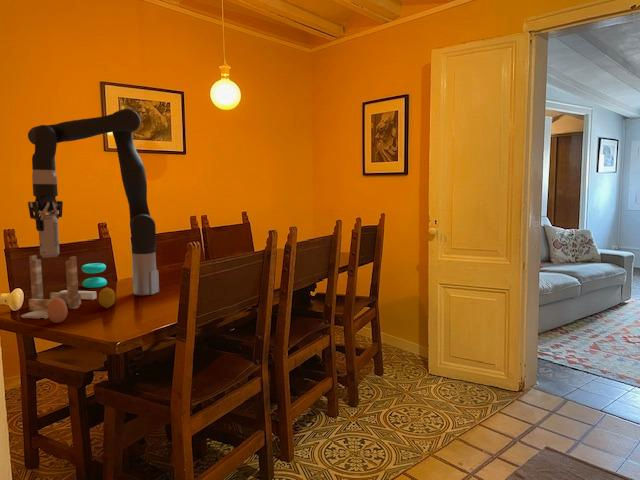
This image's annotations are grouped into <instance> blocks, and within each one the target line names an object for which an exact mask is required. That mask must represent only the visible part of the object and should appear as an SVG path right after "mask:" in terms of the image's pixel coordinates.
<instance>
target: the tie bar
mask: <svg viewBox="0 0 640 480" xmlns="http://www.w3.org/2000/svg"><path fill="white" fill-rule="evenodd" d="M59 293H67V289H64V290H60V291H59ZM78 293H80V294H81V300H95V299H98V297H97V296H98V295H97V291H95V290H94V291H92V290H91V291H89V290H78Z"/></svg>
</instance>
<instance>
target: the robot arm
mask: <svg viewBox="0 0 640 480" xmlns="http://www.w3.org/2000/svg"><path fill="white" fill-rule="evenodd" d="M141 123H142V121H141V116H140V115H139V113H138V112H137V111H135V110H134V109H131V108H122V109H119V110H117V111H115V112H113V113H110V114H108V115H107V114H106V115H102V116H97V117H89V118H81V119H75V120H74V119H73V120H69V121H68V120H67V121H63V122H59V123H54V124H48V125H47V124H46V125H45V124H41V125H36V126H34V127H31V128H30V130H29V131H28V133H27V139H28V141H29V142H30V143H31V144H33V145H34V153H33V154H32V157H31V164H32V165H31V166H32V173H31V175H32V176H31V180H32V183H31V184H32V196H33V197H35V200H34V201H28V202H27V206H28V211H29V218H30V219H32V220H34V221H35V228H36V231H37V232H39V231H44V223H43V218H44V215H55V216H56V218H57V219H58V220H59V218H62V217H63V205H64V204H63V203H64V202H63V201H62V200H57V199H56V197H58V195H59V194H58V193H59V192H58V176H57V172H56V171H57V170H56V154H57V147H58V146H57V145H58V144H59V143H63V142H64V143H66V142H73V141H78V140H84V139H87V138H91V137H92V138H93V137H96V136H100V135H103V134H104V135H105V134H109V133H112V135H113V139H114V141H115V142H114V143H115V147H116V151H117V157H118V163H119V169H120V170H119V171H120V174H121V175H120V177H121V181H122V184H123V189H124V193H125V195H126V196H125V197H126V199H127V204H128V209H129V225H130V229H131V259H132V260H131V263H132V286H133V295H134V296H152V295H154V294H157V293H159V292H160V279H159V269H157V259H156V258H157V256H156V255H157V253H156V252H157V251H156V249H157V235H156V234H157V232H156V227H157V226H156V222H155V220H154V219H153V218H152V216H151V213H150V210H149V205H148V184H147V174H146V170H145V165H144V163H143V161H142V158H141V157H140V154H139V153H138V150H137V149H136V146H135V142H134V137H133V133H134V132H136V131H137V130H138V129H139V128H140V126H141Z"/></svg>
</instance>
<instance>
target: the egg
mask: <svg viewBox="0 0 640 480" xmlns="http://www.w3.org/2000/svg"><path fill="white" fill-rule="evenodd" d="M68 309H69V308H68V304H66V303H65V302H64V301H63V300H62V299H61V298H54V299H52V300H51V301H50V303H49V305H48V308H47V315H48V317H49V318H48V319H49V321H51V322H52V323H55V324H60V323H62V322H63V321H64V320H65V319H66V318H67V316H68V313H69V312H68Z"/></svg>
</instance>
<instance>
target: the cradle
mask: <svg viewBox="0 0 640 480" xmlns="http://www.w3.org/2000/svg"><path fill="white" fill-rule="evenodd" d="M28 258H29V269H30V271H29V272H30V273H29V274H30V275H29V276H30V288H31V298H29V299H28V311H30V312H32V311H35V310H38V309H47V308H48V305H49V303H50V301H51V300H52V299H54V298H61V299H62V300H63V301H64V302H65V303H66V305H67V309H71V310H72V309H75V310H76V309H78V308H79V307H80V305H82V299H81V294H80V293H78V291H79V280H78V265H77V264H78V261H77V256H75V255H73V256H70V257H69V258H68V259H69V260H66V261H65V274H66V287H67V288H66V290H67V293H60V292H49V298H50V299H46V298H45V299H44V290H43V289H44V288H43V275H42V272H43V271H42V259H39V258H38V256H37V255H36V254H35V255H29V256H28Z"/></svg>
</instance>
